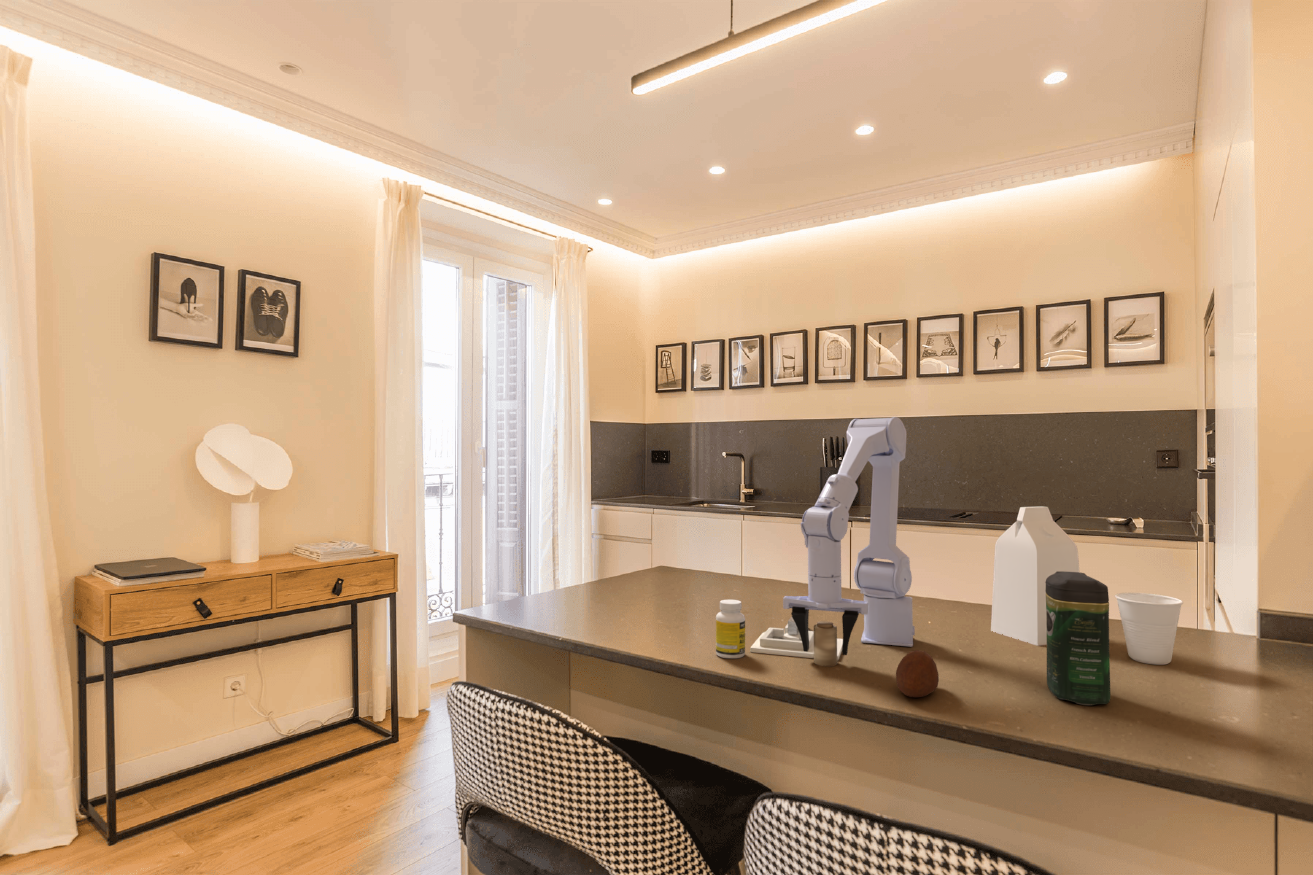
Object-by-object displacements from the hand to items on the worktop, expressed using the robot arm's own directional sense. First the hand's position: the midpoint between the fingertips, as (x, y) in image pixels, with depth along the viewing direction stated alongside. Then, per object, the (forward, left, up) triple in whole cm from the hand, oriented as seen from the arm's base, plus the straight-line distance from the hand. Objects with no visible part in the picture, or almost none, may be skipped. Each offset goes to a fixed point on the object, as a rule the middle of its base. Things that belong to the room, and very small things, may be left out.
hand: (825, 651), depth 121 cm
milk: (-38, -33, -2) cm, 50 cm away
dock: (+6, -13, -2) cm, 14 cm away
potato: (-15, +11, -2) cm, 19 cm away
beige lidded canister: (0, 0, -2) cm, 2 cm away
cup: (-54, -21, -2) cm, 58 cm away
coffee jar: (-38, +4, -2) cm, 38 cm away
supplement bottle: (+17, +1, -2) cm, 17 cm away
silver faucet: (+8, -18, -2) cm, 19 cm away
